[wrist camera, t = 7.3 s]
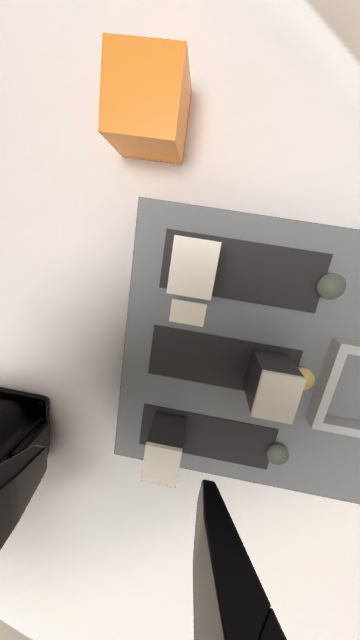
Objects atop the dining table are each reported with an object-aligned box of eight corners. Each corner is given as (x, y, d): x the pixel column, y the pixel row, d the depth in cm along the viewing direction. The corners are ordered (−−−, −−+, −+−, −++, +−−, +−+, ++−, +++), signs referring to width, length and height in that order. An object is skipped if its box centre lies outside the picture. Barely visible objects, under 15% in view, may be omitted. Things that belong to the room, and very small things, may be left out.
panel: (119, 441, 23) (108, 465, 21) (144, 200, 18) (133, 192, 15) (351, 488, 22) (370, 519, 20) (457, 247, 17) (503, 247, 14)
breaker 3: (243, 386, 19) (251, 416, 15) (252, 348, 18) (263, 371, 15) (276, 392, 19) (291, 424, 15) (287, 354, 18) (306, 379, 14)
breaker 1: (151, 443, 21) (140, 480, 18) (155, 411, 20) (145, 444, 17) (180, 449, 21) (175, 488, 17) (186, 417, 20) (182, 452, 17)
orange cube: (122, 156, 17) (98, 131, 13) (127, 83, 16) (102, 33, 12) (182, 164, 17) (174, 140, 13) (191, 91, 16) (186, 41, 12)
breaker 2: (174, 284, 17) (166, 293, 14) (181, 237, 16) (174, 234, 13) (210, 290, 17) (210, 300, 14) (218, 243, 16) (221, 242, 13)
